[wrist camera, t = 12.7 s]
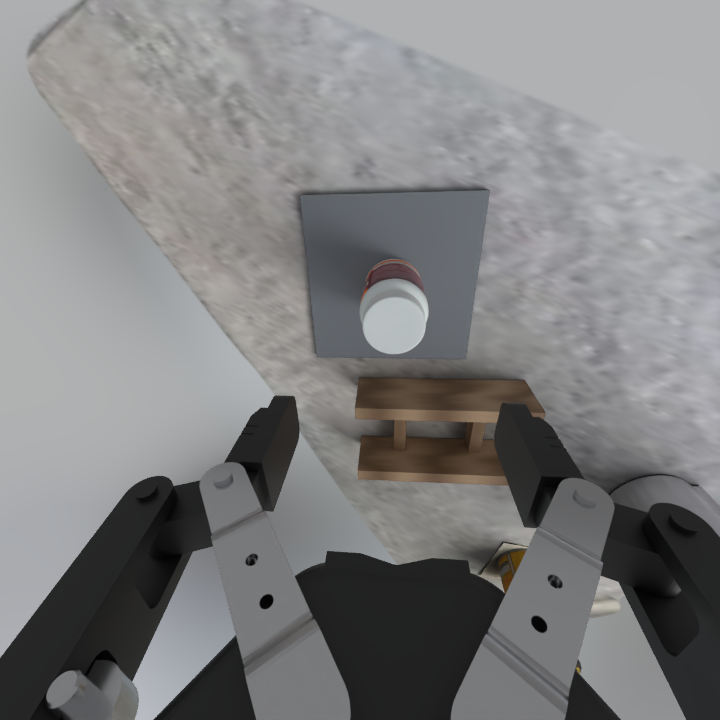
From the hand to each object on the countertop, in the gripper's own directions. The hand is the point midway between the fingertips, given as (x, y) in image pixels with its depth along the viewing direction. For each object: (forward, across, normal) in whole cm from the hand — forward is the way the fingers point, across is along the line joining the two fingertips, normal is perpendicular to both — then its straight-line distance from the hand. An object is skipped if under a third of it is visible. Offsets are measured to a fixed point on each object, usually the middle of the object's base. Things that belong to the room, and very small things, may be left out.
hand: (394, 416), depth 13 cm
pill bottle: (+18, 0, 0) cm, 18 cm away
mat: (+18, 0, 0) cm, 18 cm away
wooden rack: (+18, -5, +14) cm, 23 cm away
